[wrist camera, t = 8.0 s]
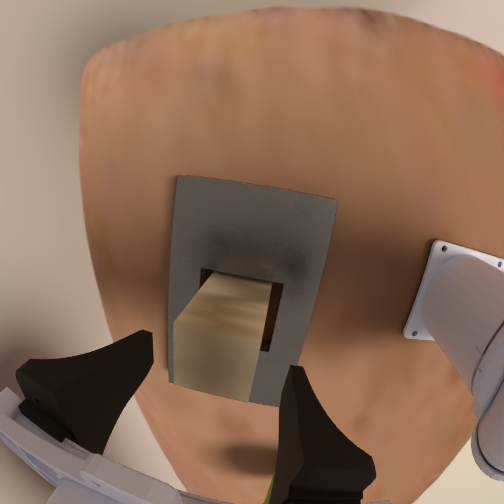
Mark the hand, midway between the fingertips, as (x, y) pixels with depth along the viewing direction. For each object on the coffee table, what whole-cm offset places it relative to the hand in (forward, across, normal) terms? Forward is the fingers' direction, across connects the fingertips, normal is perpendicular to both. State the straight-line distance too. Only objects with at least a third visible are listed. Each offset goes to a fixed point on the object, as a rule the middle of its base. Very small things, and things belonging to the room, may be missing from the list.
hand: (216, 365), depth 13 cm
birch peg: (+7, 0, 0) cm, 7 cm away
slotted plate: (+7, 0, 0) cm, 7 cm away
